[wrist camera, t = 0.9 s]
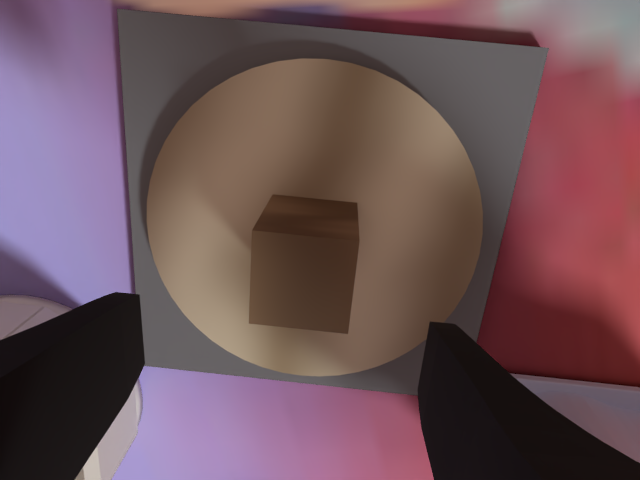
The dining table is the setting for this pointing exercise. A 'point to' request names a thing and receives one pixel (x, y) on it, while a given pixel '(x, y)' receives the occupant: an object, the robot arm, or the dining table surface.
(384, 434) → the dining table surface
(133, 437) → the dish
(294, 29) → the mat
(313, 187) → the lid
